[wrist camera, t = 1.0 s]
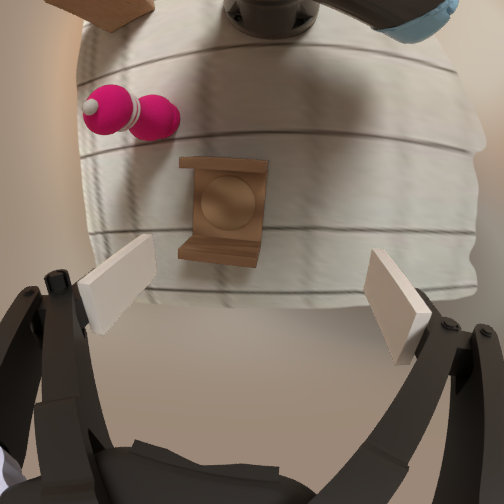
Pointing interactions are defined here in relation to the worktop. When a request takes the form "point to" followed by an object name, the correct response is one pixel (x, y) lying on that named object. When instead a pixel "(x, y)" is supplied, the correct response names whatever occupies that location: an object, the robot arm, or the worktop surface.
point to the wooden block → (106, 11)
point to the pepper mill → (130, 113)
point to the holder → (226, 210)
